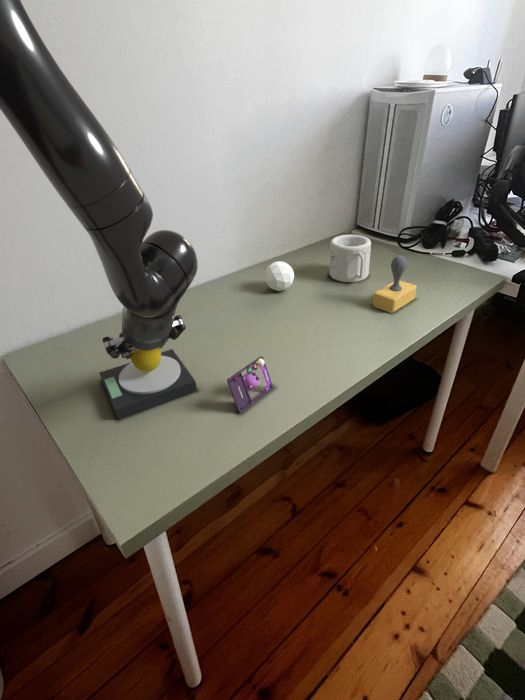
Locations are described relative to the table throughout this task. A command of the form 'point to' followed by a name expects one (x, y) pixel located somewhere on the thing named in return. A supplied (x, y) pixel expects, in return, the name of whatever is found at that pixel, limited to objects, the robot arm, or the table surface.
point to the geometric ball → (279, 276)
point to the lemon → (146, 359)
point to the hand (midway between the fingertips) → (142, 348)
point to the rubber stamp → (395, 289)
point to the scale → (147, 385)
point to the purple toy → (248, 384)
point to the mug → (349, 258)
